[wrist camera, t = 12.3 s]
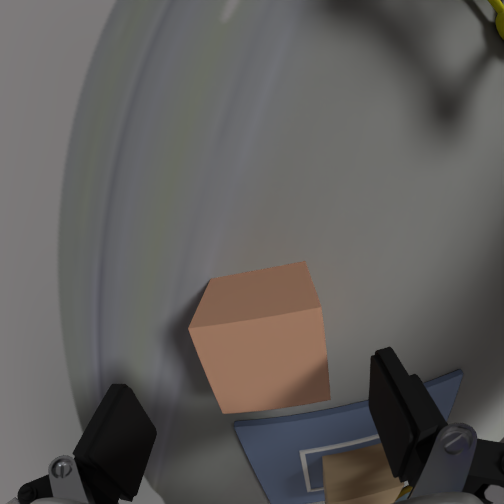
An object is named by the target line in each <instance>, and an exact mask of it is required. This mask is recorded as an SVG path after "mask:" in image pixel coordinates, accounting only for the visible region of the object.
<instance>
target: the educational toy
mask: <svg viewBox="0 0 504 504" xmlns="http://www.w3.org/2000/svg"><path fill="white" fill-rule="evenodd" d="M488 1H489V3H490V4H491V5H492V7H493V8H494V9H495V11H496V12H497V13H498V14H497V17H496V21H495V23H496V28H497V30H498V32H499V34H500V36H501V37H502V39H503V40H504V5H503V3H502V2H501V1H500V0H488Z"/></svg>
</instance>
